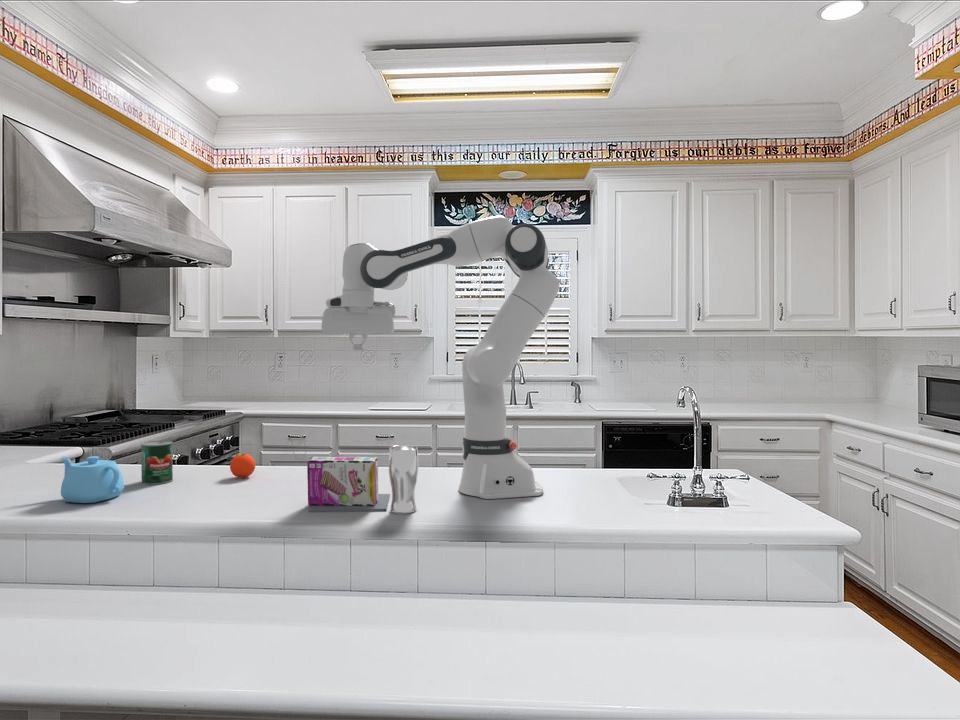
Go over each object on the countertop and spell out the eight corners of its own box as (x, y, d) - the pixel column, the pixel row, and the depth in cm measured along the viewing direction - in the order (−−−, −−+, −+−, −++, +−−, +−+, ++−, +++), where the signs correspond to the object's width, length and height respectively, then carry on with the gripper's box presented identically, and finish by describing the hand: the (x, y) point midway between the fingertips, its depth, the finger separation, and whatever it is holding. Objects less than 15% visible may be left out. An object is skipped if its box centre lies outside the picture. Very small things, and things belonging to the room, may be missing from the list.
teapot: (81, 450, 167) (138, 453, 163) (82, 490, 168) (138, 495, 163) (37, 459, 155) (96, 463, 151) (38, 502, 156) (97, 508, 151)
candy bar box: (306, 461, 151) (375, 460, 151) (311, 456, 156) (378, 455, 156) (307, 507, 151) (376, 506, 152) (312, 500, 156) (379, 500, 157)
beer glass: (391, 506, 154) (391, 444, 153) (419, 506, 153) (420, 445, 153) (386, 514, 147) (386, 450, 146) (416, 514, 146) (416, 450, 146)
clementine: (223, 477, 184) (223, 453, 184) (245, 473, 189) (245, 449, 189) (237, 481, 179) (237, 456, 178) (260, 477, 184) (260, 453, 184)
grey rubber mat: (389, 495, 164) (389, 493, 164) (386, 510, 150) (386, 508, 150) (318, 496, 162) (319, 494, 162) (308, 512, 148) (308, 509, 148)
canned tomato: (155, 486, 173) (155, 445, 173) (134, 483, 176) (134, 443, 175) (179, 479, 180) (178, 441, 180) (158, 477, 183) (158, 439, 183)
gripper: (395, 302, 184) (395, 350, 184) (324, 301, 182) (324, 349, 183) (394, 301, 177) (394, 350, 178) (320, 300, 176) (320, 350, 176)
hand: (358, 350), depth 180 cm, fingers closed
